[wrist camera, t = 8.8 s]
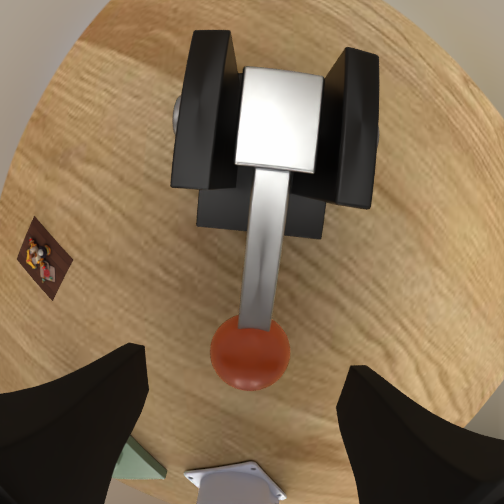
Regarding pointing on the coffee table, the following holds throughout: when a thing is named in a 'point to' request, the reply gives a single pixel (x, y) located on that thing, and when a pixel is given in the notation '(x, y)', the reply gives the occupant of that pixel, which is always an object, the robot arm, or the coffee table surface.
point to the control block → (137, 463)
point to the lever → (267, 215)
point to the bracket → (240, 177)
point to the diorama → (44, 258)
